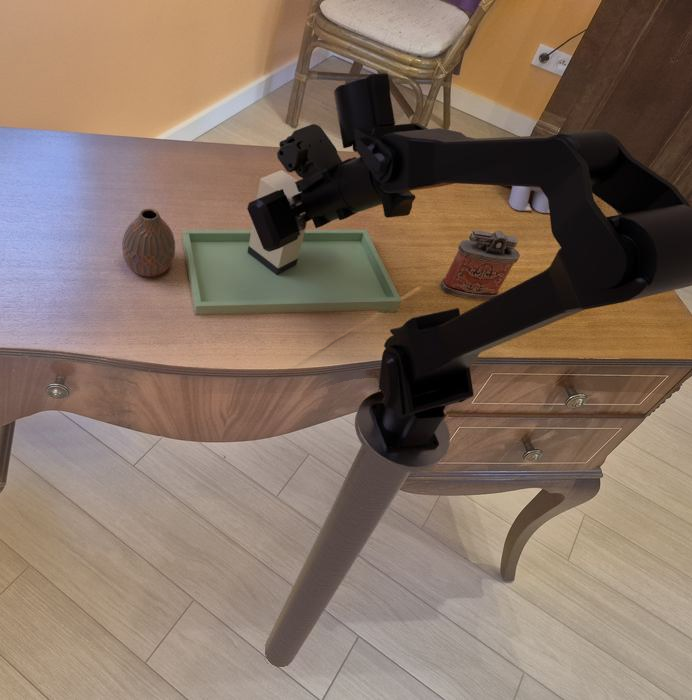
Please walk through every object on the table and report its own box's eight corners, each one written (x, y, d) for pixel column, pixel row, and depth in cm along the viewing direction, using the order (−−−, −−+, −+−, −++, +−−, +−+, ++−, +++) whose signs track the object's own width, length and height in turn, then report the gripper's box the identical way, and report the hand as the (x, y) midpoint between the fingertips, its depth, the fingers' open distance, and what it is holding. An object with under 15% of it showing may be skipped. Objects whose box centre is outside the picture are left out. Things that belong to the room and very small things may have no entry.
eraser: (296, 265, 86) (315, 191, 78) (276, 275, 84) (293, 201, 76) (266, 243, 89) (281, 169, 80) (247, 252, 87) (260, 178, 78)
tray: (397, 311, 83) (402, 300, 81) (194, 317, 78) (196, 306, 76) (362, 240, 93) (366, 229, 92) (182, 241, 88) (182, 229, 87)
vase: (113, 273, 82) (111, 219, 75) (138, 246, 86) (138, 192, 80) (159, 291, 80) (161, 237, 74) (182, 262, 85) (186, 208, 78)
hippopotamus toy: (583, 217, 105) (615, 168, 98) (499, 210, 103) (526, 159, 96) (559, 183, 112) (587, 134, 105) (480, 175, 111) (504, 125, 104)
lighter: (493, 287, 89) (525, 230, 81) (498, 302, 86) (531, 246, 79) (438, 279, 89) (465, 221, 81) (441, 294, 86) (470, 237, 79)
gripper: (382, 98, 73) (297, 142, 86) (272, 138, 63) (196, 181, 76) (413, 187, 75) (325, 217, 88) (311, 239, 66) (230, 264, 79)
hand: (272, 217), depth 83 cm, fingers closed on eraser, 4 cm apart
